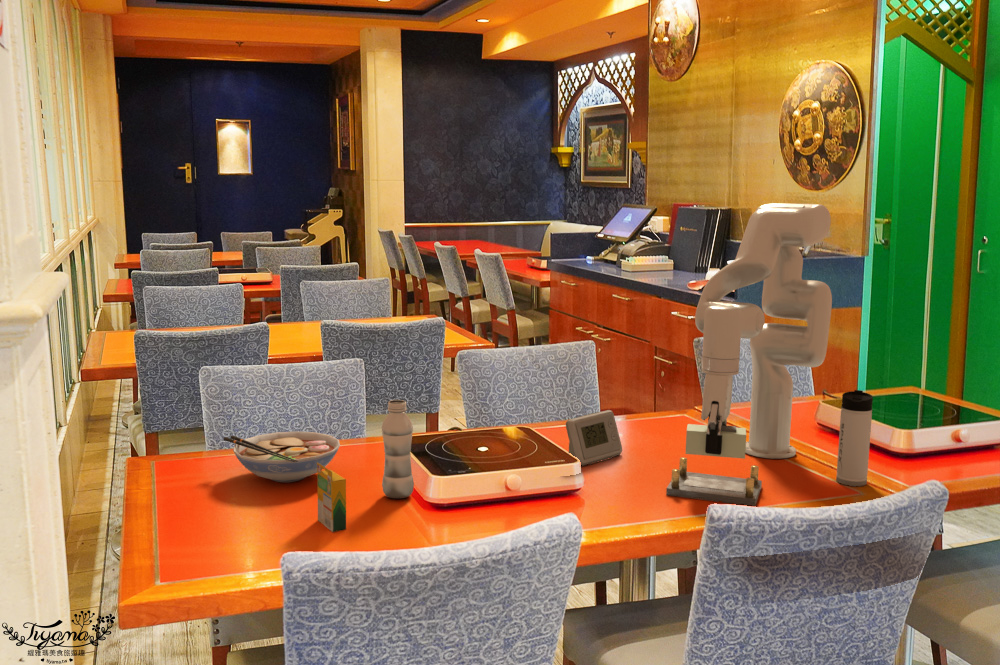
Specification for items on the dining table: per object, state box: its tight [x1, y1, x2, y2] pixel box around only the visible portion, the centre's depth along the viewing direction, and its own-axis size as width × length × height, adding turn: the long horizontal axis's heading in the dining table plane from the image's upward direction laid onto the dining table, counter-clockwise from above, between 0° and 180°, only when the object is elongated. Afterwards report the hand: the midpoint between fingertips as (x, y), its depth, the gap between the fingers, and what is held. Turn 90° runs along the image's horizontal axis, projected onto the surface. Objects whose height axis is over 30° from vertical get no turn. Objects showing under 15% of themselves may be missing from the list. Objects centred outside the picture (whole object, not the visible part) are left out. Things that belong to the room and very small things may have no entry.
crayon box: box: [316, 462, 347, 533], centre depth 171 cm, size 7×3×12 cm, turn 33°
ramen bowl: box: [223, 431, 341, 483], centre depth 199 cm, size 25×23×8 cm
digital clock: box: [565, 409, 623, 467], centre depth 215 cm, size 16×9×11 cm, turn 122°
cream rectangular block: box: [685, 423, 747, 460], centre depth 191 cm, size 6×12×6 cm, turn 76°
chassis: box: [665, 457, 763, 507], centre depth 193 cm, size 13×18×5 cm
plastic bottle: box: [381, 399, 415, 499], centre depth 186 cm, size 6×7×20 cm
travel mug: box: [836, 389, 874, 487], centre depth 198 cm, size 6×7×20 cm
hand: (715, 448), depth 191 cm, fingers closed on cream rectangular block, 6 cm apart
